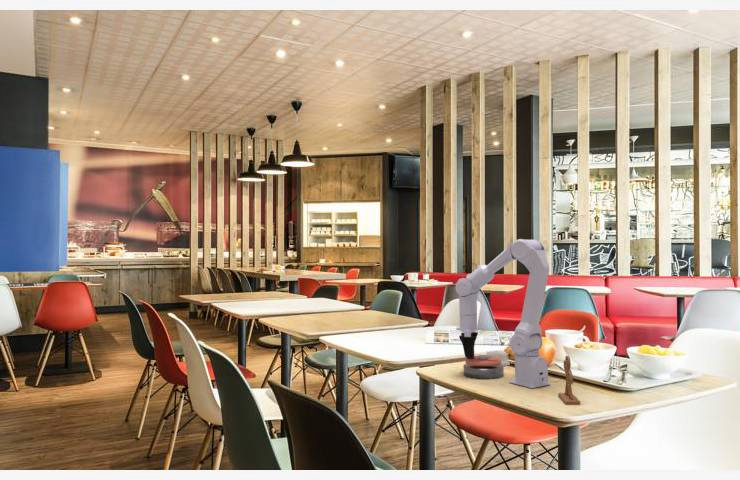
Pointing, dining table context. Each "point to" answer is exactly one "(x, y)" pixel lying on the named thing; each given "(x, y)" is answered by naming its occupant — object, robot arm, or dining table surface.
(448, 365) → the dining table surface
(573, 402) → the brown statuette
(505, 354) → the mechanical component
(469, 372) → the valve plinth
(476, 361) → the handwheel
